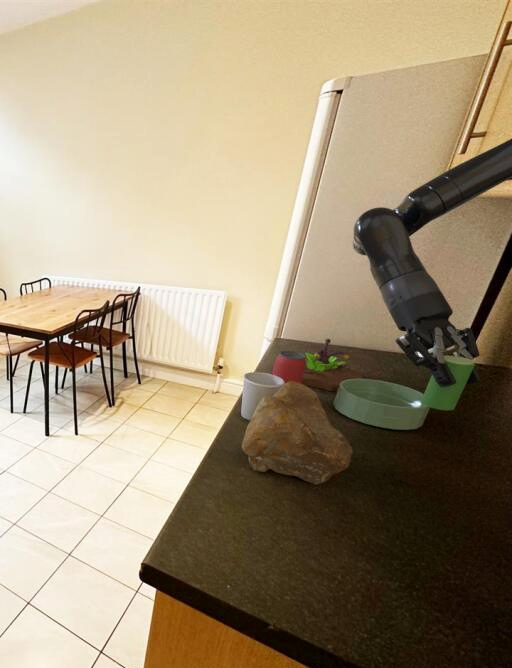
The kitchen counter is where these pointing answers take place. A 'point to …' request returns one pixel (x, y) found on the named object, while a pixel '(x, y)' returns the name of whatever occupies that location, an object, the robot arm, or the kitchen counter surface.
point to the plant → (327, 370)
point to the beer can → (290, 366)
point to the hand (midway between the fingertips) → (460, 383)
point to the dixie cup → (258, 390)
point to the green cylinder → (448, 395)
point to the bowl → (381, 404)
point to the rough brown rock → (295, 436)
